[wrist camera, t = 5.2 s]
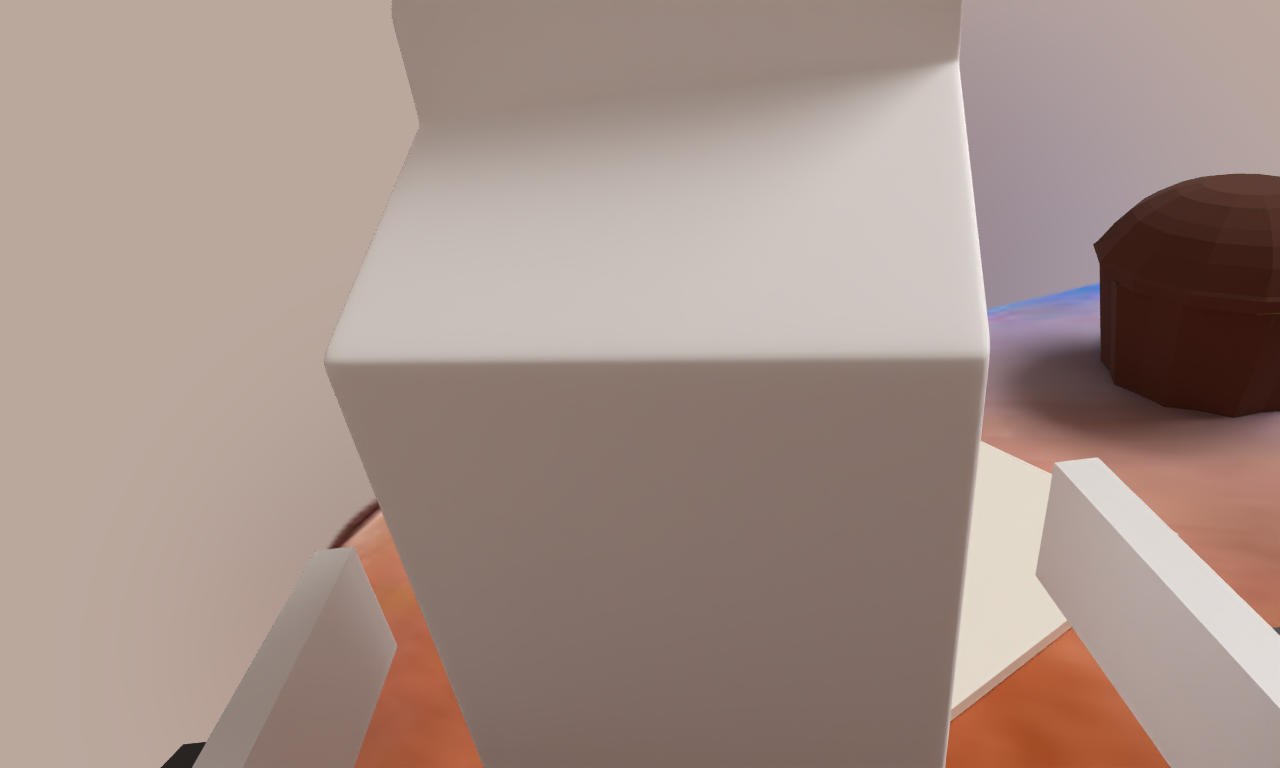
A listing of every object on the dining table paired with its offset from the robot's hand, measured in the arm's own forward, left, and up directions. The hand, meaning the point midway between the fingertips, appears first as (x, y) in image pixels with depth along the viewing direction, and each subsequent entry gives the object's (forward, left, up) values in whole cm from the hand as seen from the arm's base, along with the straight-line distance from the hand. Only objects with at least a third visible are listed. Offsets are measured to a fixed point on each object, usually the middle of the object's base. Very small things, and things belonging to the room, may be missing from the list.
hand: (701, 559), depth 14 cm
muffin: (+6, -35, -12) cm, 38 cm away
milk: (-2, +1, -12) cm, 12 cm away
